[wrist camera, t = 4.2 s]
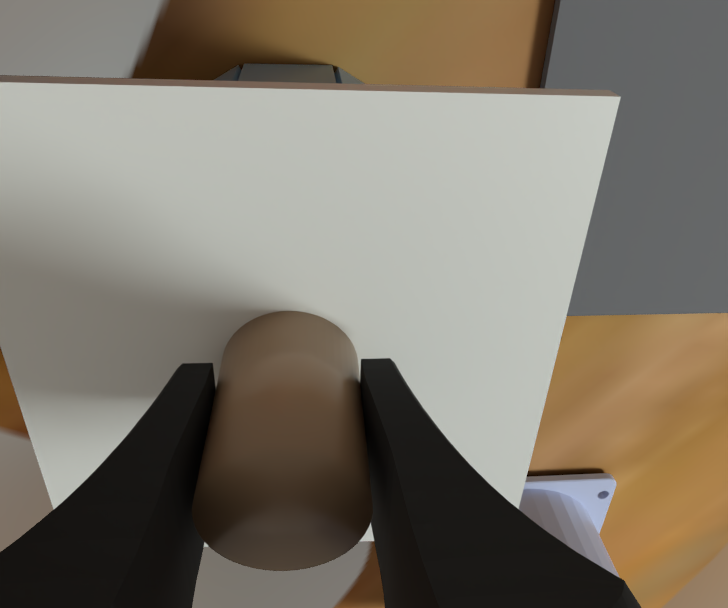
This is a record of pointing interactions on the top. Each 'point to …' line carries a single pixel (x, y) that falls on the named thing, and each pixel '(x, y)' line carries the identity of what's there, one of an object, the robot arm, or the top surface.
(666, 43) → the mat
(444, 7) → the top surface
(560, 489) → the robot arm
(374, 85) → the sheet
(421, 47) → the top surface
